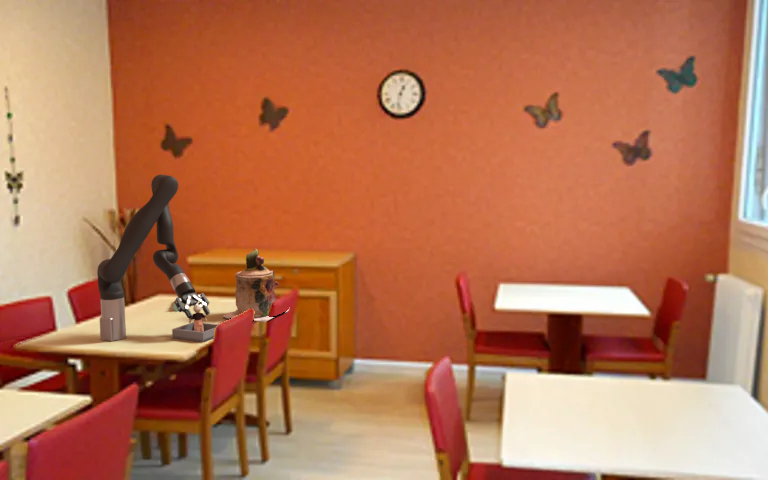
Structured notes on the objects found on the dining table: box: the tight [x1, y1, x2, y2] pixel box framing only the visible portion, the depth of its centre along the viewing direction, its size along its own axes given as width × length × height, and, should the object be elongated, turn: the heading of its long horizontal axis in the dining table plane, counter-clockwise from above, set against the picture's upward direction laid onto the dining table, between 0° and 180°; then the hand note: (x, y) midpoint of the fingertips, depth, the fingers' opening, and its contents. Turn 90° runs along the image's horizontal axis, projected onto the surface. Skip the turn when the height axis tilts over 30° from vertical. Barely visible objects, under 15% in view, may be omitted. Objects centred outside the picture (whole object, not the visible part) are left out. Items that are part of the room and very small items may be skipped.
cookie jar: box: [222, 248, 290, 323], centre depth 324 cm, size 25×25×32 cm
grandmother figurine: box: [187, 305, 208, 332], centre depth 285 cm, size 8×4×13 cm, turn 130°
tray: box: [171, 321, 219, 343], centre depth 286 cm, size 14×16×4 cm
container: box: [173, 302, 184, 312], centre depth 347 cm, size 6×6×25 cm
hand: (199, 316), depth 284 cm, fingers open, 8 cm apart
